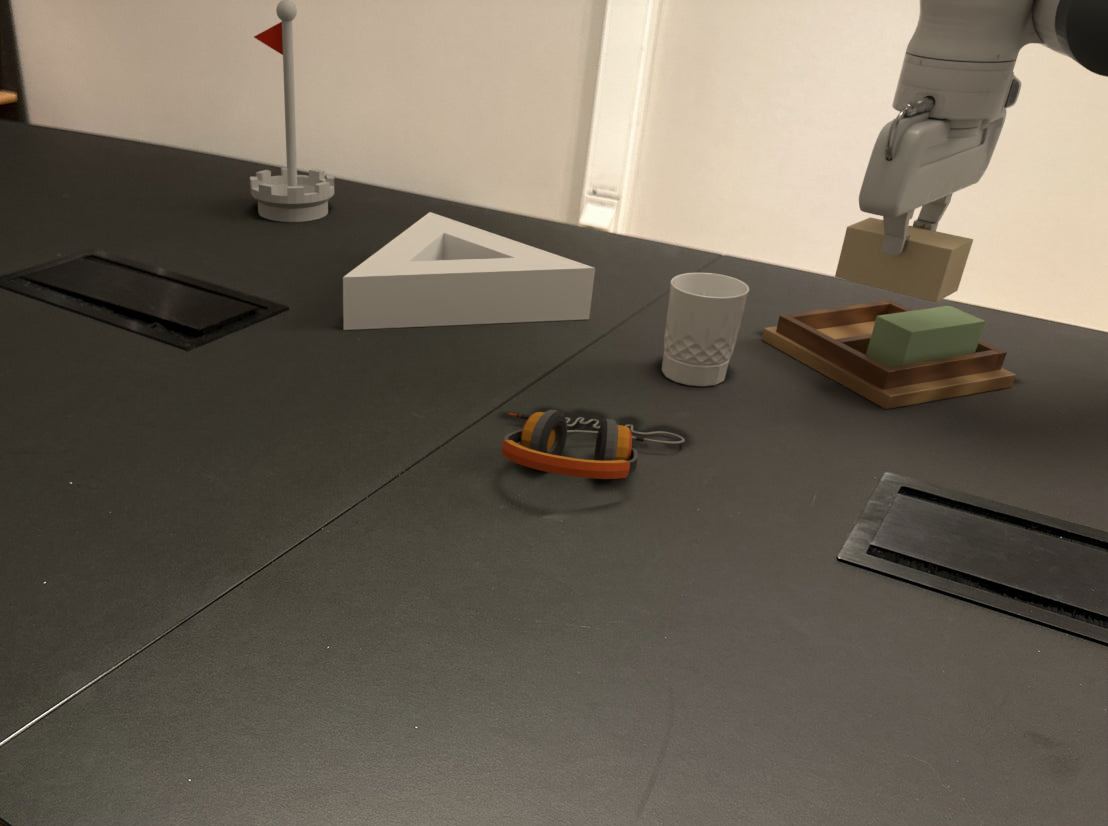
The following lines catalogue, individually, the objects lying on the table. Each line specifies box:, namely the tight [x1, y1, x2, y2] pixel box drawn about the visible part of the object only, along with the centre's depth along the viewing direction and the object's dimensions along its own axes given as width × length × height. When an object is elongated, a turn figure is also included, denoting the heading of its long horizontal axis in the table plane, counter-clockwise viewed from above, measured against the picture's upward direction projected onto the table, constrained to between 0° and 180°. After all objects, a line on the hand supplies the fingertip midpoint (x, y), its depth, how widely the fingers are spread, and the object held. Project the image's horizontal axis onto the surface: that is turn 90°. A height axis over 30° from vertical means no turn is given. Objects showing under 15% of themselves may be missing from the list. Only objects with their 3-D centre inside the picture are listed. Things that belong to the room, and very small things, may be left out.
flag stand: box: [249, 0, 335, 223], centre depth 157 cm, size 13×13×30 cm
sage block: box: [866, 305, 986, 367], centre depth 112 cm, size 10×5×5 cm, turn 110°
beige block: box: [834, 216, 974, 303], centre depth 101 cm, size 10×5×5 cm, turn 44°
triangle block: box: [342, 211, 596, 331], centre depth 129 cm, size 30×26×6 cm
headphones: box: [501, 409, 685, 480], centre depth 95 cm, size 17×5×20 cm
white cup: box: [661, 272, 750, 387], centre depth 111 cm, size 8×8×10 cm
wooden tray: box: [761, 299, 1017, 410], centre depth 116 cm, size 17×20×4 cm
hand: (907, 246), depth 100 cm, fingers closed on beige block, 5 cm apart
